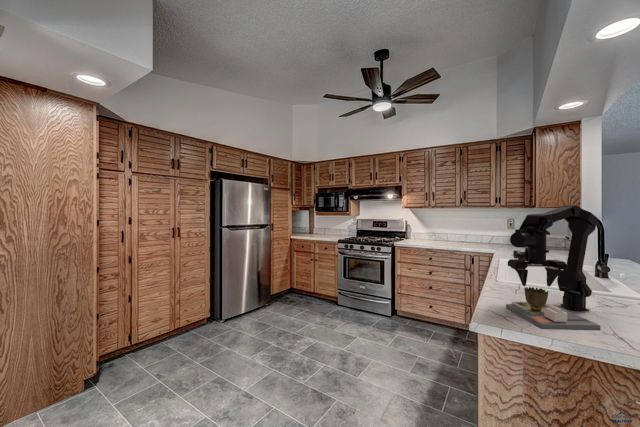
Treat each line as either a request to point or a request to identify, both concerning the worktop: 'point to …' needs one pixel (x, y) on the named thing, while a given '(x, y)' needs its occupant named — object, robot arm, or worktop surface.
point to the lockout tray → (526, 308)
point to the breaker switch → (555, 314)
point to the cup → (536, 298)
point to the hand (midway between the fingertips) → (536, 286)
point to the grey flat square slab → (544, 322)
